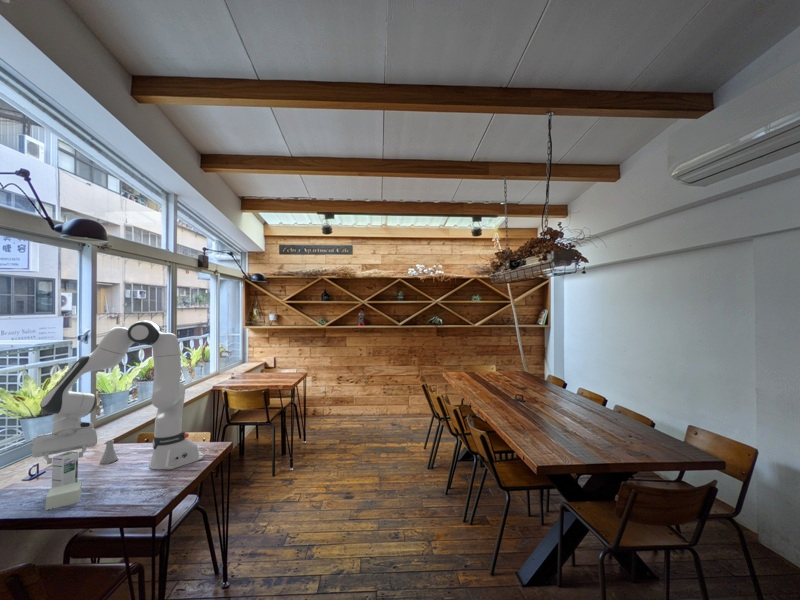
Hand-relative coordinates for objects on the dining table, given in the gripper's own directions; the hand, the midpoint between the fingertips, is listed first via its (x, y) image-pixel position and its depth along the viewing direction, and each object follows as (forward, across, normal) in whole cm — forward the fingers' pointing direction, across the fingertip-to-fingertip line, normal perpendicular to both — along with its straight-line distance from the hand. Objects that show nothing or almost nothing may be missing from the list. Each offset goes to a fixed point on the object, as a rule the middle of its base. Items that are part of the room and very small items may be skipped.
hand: (65, 460), depth 144 cm
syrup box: (+10, 0, +7) cm, 12 cm away
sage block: (+19, 0, -2) cm, 19 cm away
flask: (-8, +16, +24) cm, 30 cm away
